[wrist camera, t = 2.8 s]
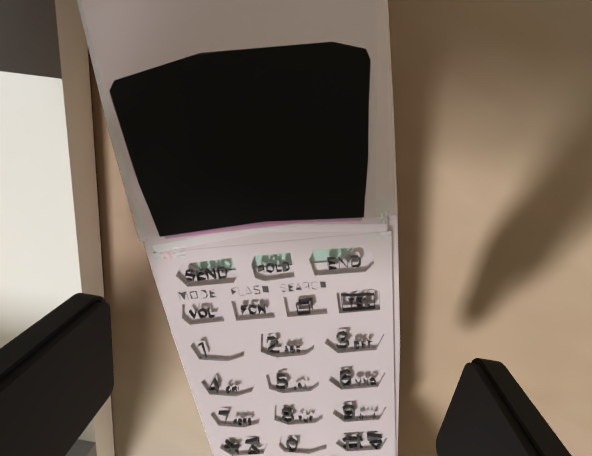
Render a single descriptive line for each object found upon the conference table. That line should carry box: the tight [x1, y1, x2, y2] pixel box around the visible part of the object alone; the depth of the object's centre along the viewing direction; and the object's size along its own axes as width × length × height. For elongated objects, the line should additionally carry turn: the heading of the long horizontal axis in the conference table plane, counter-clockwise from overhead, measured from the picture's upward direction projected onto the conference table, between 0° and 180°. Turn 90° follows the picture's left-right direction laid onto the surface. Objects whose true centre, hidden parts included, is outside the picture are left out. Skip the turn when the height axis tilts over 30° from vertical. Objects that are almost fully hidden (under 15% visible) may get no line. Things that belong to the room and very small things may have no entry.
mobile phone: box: [77, 0, 400, 456], centre depth 8 cm, size 6×6×25 cm
